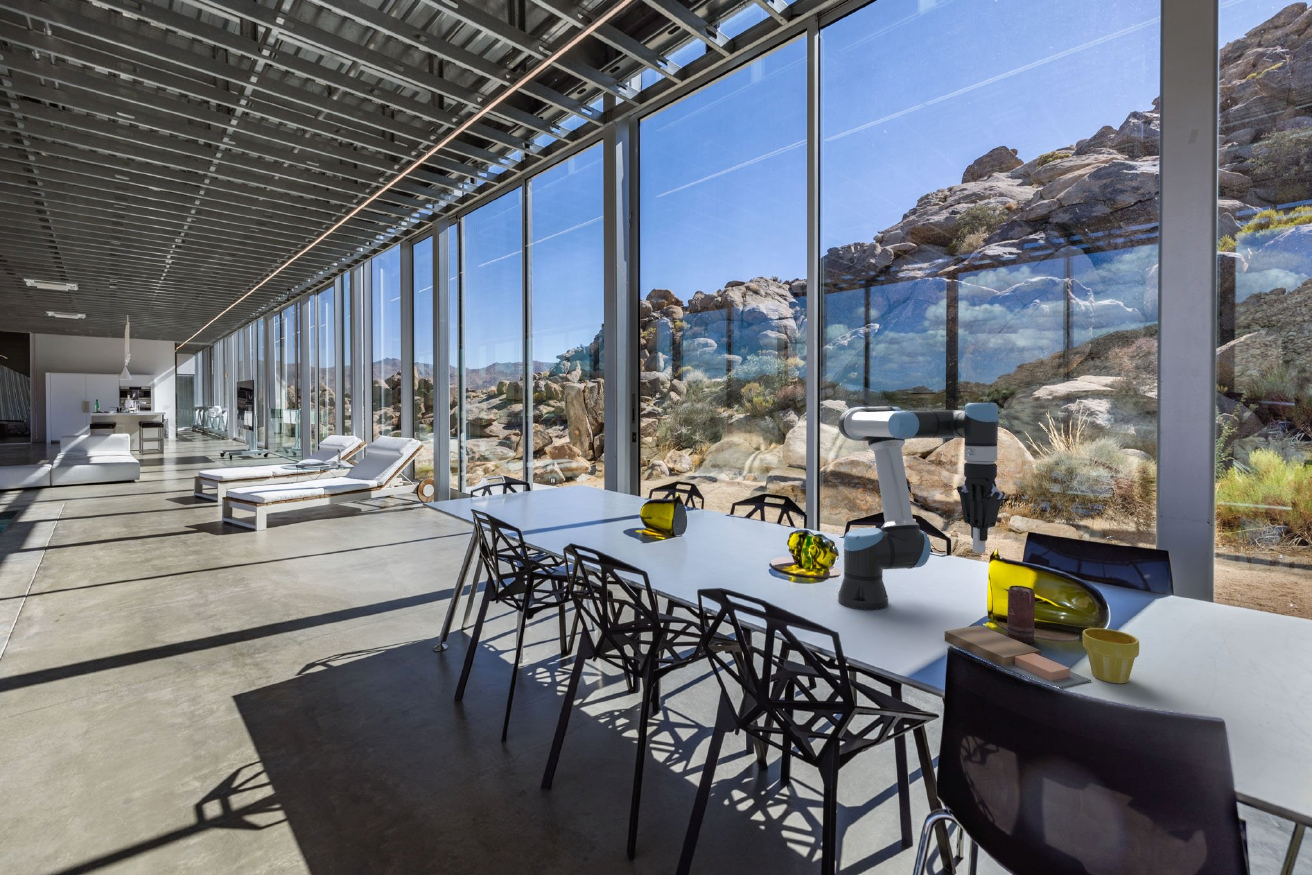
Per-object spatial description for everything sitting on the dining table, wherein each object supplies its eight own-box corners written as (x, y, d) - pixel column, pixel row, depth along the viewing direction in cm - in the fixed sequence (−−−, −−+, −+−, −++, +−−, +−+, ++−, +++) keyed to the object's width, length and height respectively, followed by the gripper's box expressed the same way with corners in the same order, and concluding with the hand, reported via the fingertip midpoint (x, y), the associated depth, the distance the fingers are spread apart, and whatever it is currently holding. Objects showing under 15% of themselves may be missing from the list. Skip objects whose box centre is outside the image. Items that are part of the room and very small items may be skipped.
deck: (944, 640, 158) (944, 630, 157) (978, 634, 162) (978, 625, 161) (1004, 667, 141) (1004, 657, 141) (1040, 660, 145) (1041, 650, 144)
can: (1022, 645, 153) (1023, 592, 153) (1001, 636, 160) (1002, 585, 159) (1040, 643, 155) (1041, 590, 154) (1019, 634, 161) (1020, 583, 160)
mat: (1004, 667, 141) (1004, 666, 141) (1040, 660, 145) (1040, 658, 145) (1052, 690, 129) (1052, 688, 129) (1091, 681, 133) (1091, 679, 133)
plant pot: (1070, 668, 140) (1071, 627, 140) (1111, 666, 141) (1112, 626, 140) (1106, 688, 130) (1107, 645, 129) (1150, 686, 130) (1152, 643, 130)
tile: (1014, 664, 141) (1014, 656, 141) (1033, 660, 143) (1033, 652, 143) (1050, 680, 133) (1050, 672, 133) (1069, 676, 135) (1069, 668, 135)
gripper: (949, 460, 157) (947, 548, 159) (991, 465, 145) (989, 559, 146) (970, 459, 160) (969, 545, 161) (1013, 463, 148) (1012, 556, 149)
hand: (978, 552), depth 154 cm, fingers closed
